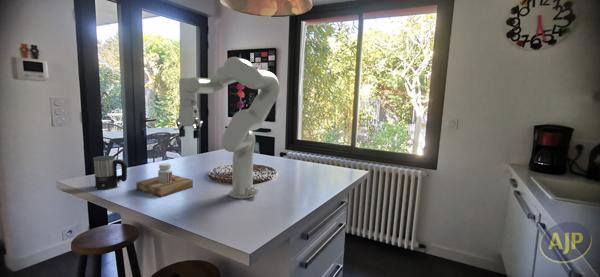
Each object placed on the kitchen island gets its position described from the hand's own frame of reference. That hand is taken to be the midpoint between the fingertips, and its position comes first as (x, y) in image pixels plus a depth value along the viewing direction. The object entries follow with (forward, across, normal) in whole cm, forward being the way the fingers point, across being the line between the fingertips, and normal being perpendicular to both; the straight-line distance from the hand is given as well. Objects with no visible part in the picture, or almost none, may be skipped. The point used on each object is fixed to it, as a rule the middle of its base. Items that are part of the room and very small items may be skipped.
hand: (189, 137), depth 148 cm
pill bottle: (+24, +5, +11) cm, 27 cm away
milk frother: (+24, +32, +21) cm, 45 cm away
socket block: (+25, +6, +11) cm, 28 cm away
